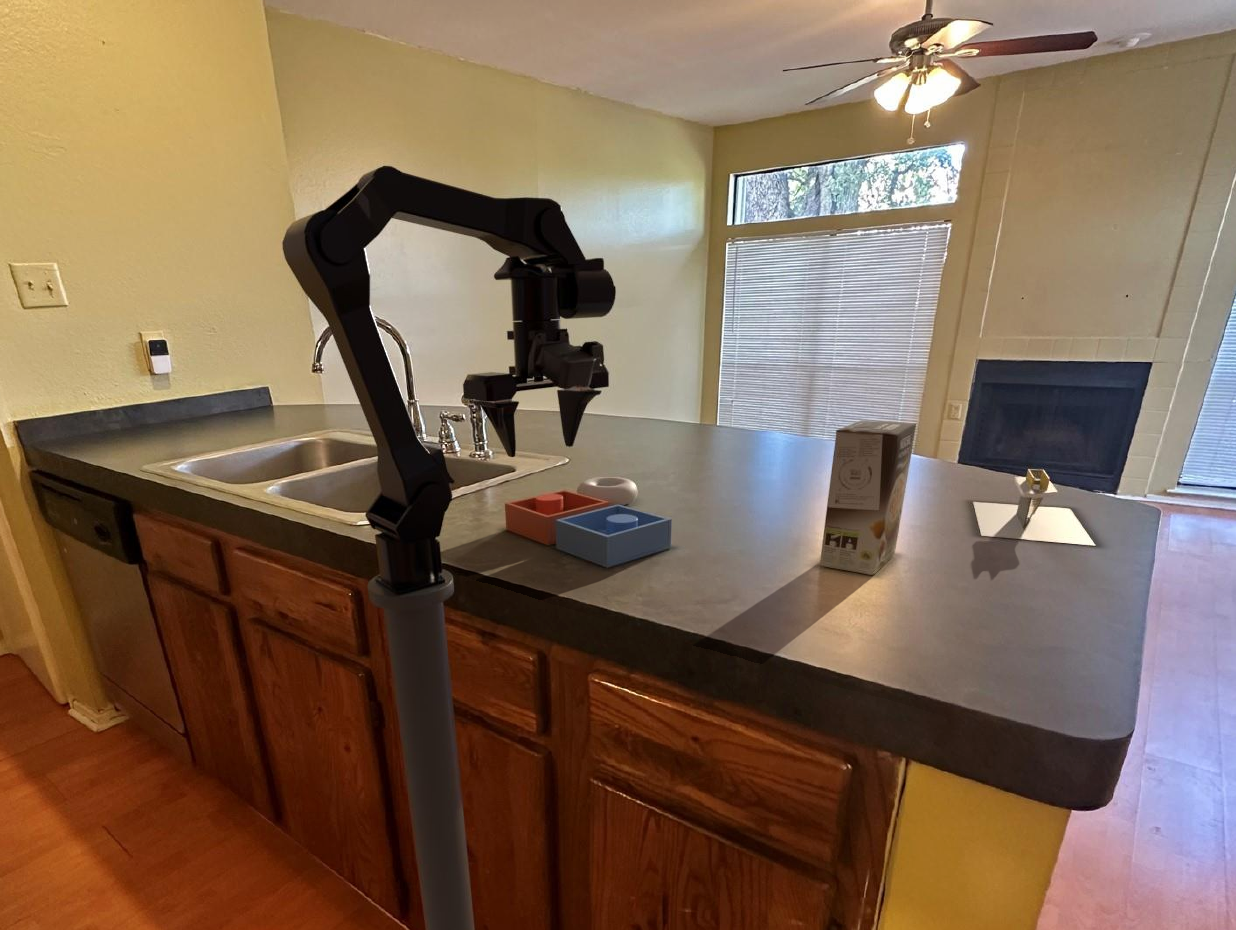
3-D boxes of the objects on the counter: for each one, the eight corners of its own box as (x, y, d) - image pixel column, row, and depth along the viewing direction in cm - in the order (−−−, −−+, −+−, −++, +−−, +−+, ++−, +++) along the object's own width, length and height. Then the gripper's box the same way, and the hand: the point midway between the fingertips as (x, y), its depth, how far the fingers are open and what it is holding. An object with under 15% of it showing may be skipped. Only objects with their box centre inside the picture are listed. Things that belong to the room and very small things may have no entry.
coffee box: (875, 576, 78) (897, 434, 72) (818, 566, 82) (834, 430, 76) (896, 554, 85) (918, 421, 79) (842, 545, 89) (858, 418, 83)
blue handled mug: (643, 548, 90) (644, 518, 88) (621, 555, 87) (621, 524, 86) (604, 535, 95) (604, 507, 94) (582, 541, 93) (582, 512, 92)
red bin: (547, 545, 94) (547, 517, 92) (506, 529, 102) (504, 503, 100) (609, 528, 100) (609, 501, 98) (565, 514, 108) (564, 489, 106)
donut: (646, 498, 115) (592, 491, 120) (647, 477, 114) (593, 472, 119) (622, 513, 108) (565, 505, 112) (622, 491, 106) (565, 484, 111)
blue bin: (607, 568, 85) (607, 537, 83) (556, 548, 92) (555, 519, 91) (670, 548, 91) (671, 518, 89) (617, 531, 98) (618, 504, 97)
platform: (1069, 508, 100) (1081, 463, 97) (1095, 545, 85) (1110, 493, 82) (972, 501, 105) (981, 458, 102) (981, 535, 90) (991, 486, 88)
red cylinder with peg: (531, 523, 102) (529, 497, 101) (552, 518, 104) (551, 492, 103) (562, 534, 96) (562, 506, 95) (584, 528, 99) (584, 501, 97)
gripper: (510, 323, 71) (517, 472, 77) (640, 316, 81) (638, 448, 87) (455, 324, 80) (466, 459, 86) (580, 318, 90) (581, 438, 95)
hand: (541, 451), depth 88 cm, fingers open, 9 cm apart
